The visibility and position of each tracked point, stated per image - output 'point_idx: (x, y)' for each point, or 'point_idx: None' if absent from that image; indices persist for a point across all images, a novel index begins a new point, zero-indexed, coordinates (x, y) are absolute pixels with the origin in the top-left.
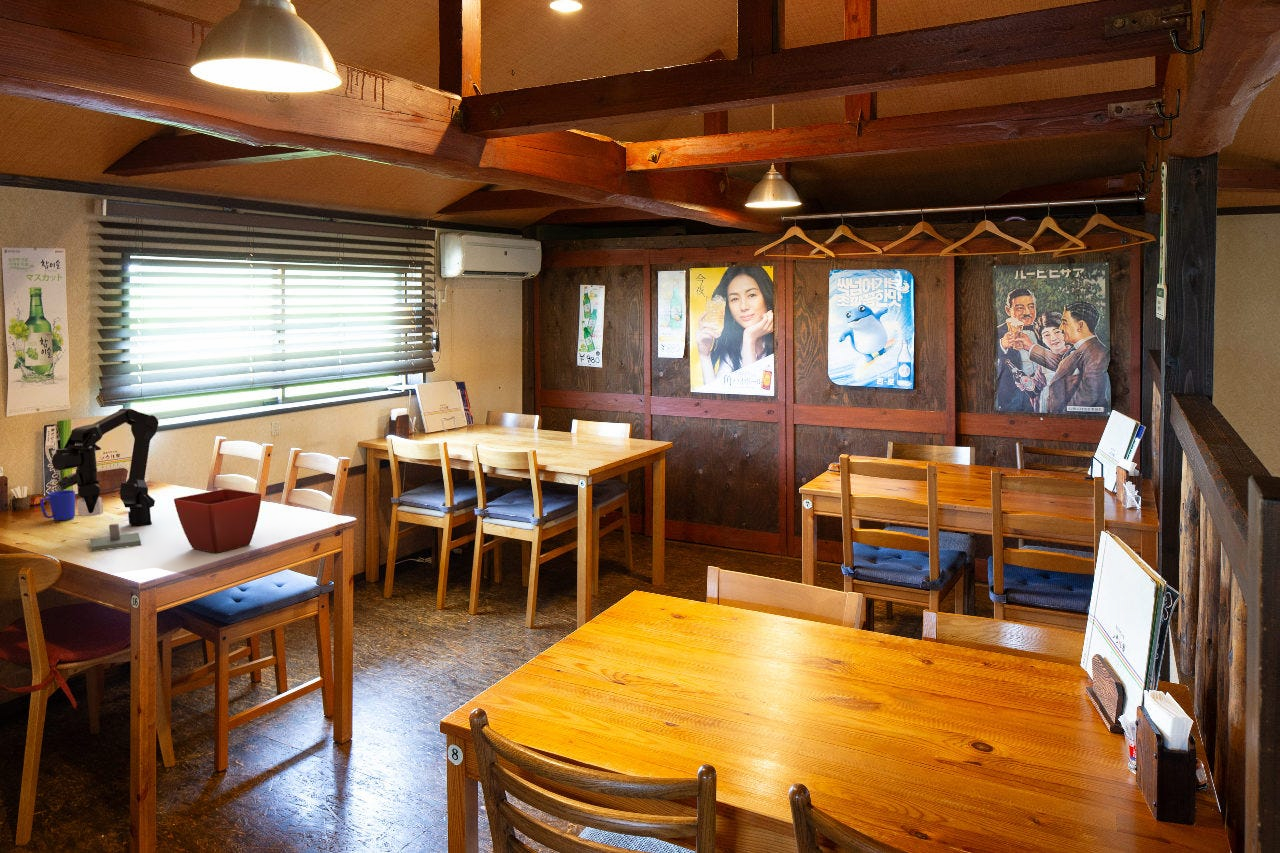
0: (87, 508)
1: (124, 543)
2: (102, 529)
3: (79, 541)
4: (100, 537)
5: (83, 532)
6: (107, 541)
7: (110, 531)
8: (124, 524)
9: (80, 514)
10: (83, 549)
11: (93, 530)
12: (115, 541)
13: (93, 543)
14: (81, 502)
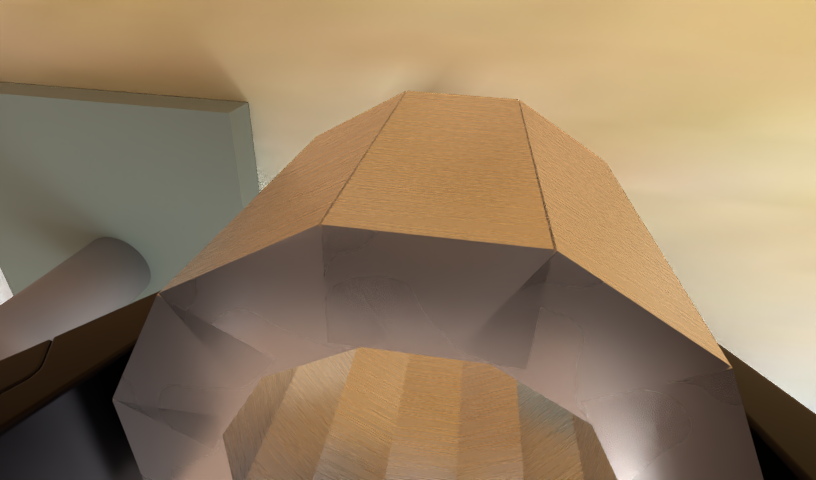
0: (157, 292)
1: (18, 290)
2: (768, 253)
3: (377, 19)
4: (241, 193)
5: (803, 92)
6: (75, 216)
7: (34, 282)
8: (801, 400)
9: (331, 132)
10: (39, 28)
11: (805, 185)
12: (59, 258)
13: (31, 118)
14: (161, 300)
